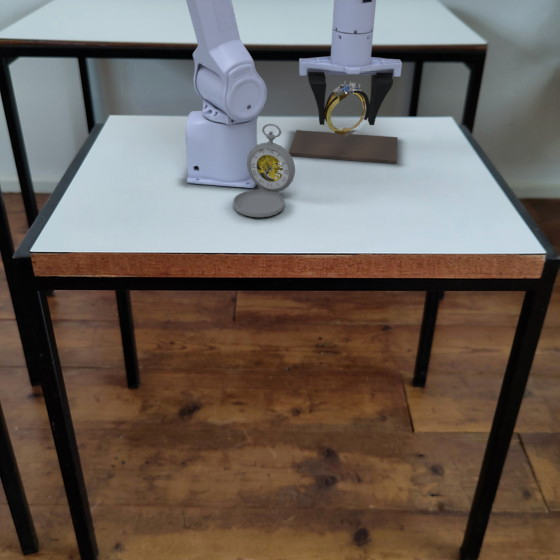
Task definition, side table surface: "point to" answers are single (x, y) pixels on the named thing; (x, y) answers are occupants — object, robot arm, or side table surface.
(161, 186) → the side table surface
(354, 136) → the mat
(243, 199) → the pocket watch
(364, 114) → the ring
